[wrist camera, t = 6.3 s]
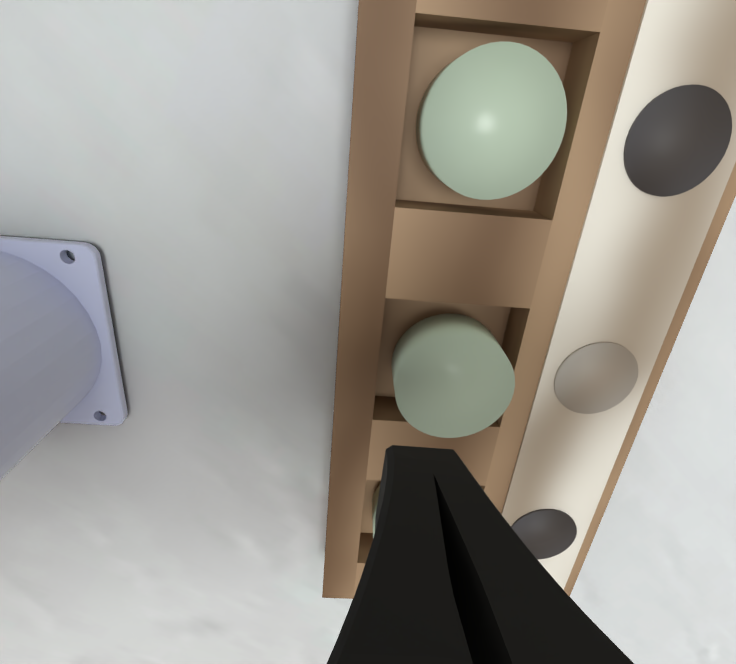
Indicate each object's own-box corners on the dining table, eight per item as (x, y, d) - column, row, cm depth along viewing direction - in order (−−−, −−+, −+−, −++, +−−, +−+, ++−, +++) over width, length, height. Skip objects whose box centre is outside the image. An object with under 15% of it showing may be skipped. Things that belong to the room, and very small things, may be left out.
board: (325, 552, 24) (322, 601, 21) (364, -78, 13) (366, -126, 10) (546, 561, 24) (567, 610, 22) (761, -32, 13) (851, -67, 11)
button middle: (386, 405, 17) (388, 434, 16) (397, 309, 16) (402, 331, 14) (488, 411, 17) (501, 440, 16) (510, 317, 16) (527, 339, 14)
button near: (408, 186, 15) (414, 194, 13) (425, 44, 13) (434, 34, 12) (526, 196, 15) (546, 205, 13) (557, 58, 13) (585, 49, 12)
